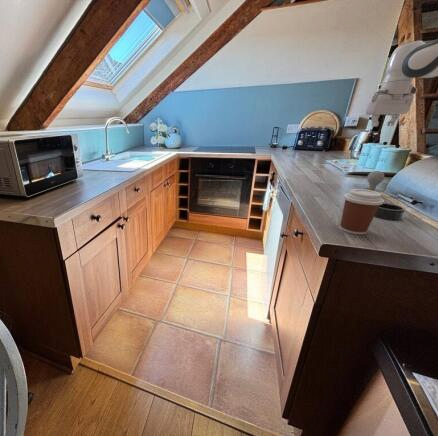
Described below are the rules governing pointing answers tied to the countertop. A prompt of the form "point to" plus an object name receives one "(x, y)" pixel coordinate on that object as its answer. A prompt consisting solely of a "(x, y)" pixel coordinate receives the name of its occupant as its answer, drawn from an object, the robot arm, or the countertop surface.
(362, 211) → the coffee cup
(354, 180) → the countertop surface
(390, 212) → the dark round bowl
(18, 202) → the countertop surface
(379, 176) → the light bulb
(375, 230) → the countertop surface
